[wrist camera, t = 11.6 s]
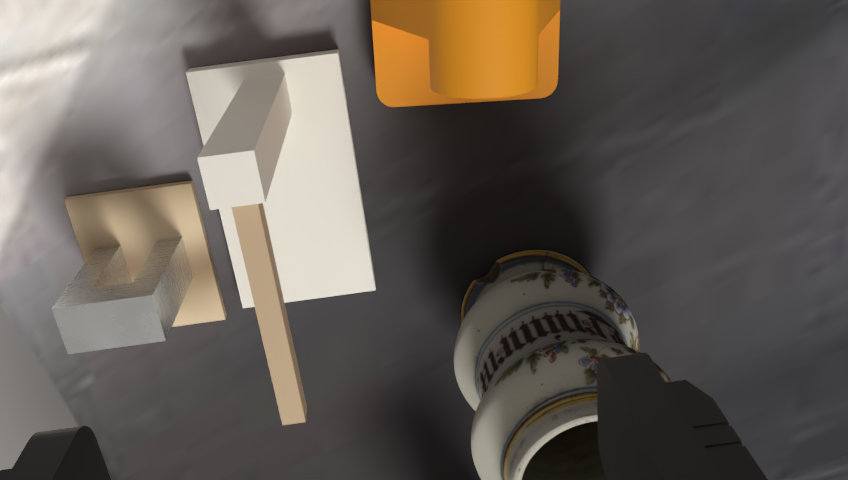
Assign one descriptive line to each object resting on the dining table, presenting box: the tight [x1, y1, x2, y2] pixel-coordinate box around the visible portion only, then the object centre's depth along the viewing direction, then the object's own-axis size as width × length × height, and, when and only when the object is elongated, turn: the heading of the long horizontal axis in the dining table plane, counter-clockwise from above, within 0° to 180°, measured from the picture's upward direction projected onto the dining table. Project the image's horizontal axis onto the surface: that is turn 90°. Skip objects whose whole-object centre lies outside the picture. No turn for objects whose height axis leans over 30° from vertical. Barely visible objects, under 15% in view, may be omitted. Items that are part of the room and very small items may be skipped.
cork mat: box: [64, 180, 227, 327], centre depth 52 cm, size 10×8×1 cm
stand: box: [186, 49, 376, 425], centre depth 43 cm, size 16×9×16 cm, turn 7°
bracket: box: [370, 0, 560, 107], centre depth 42 cm, size 11×7×12 cm, turn 92°
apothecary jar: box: [454, 250, 672, 480], centre depth 47 cm, size 12×12×18 cm
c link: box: [52, 237, 193, 354], centre depth 48 cm, size 3×6×8 cm, turn 97°
